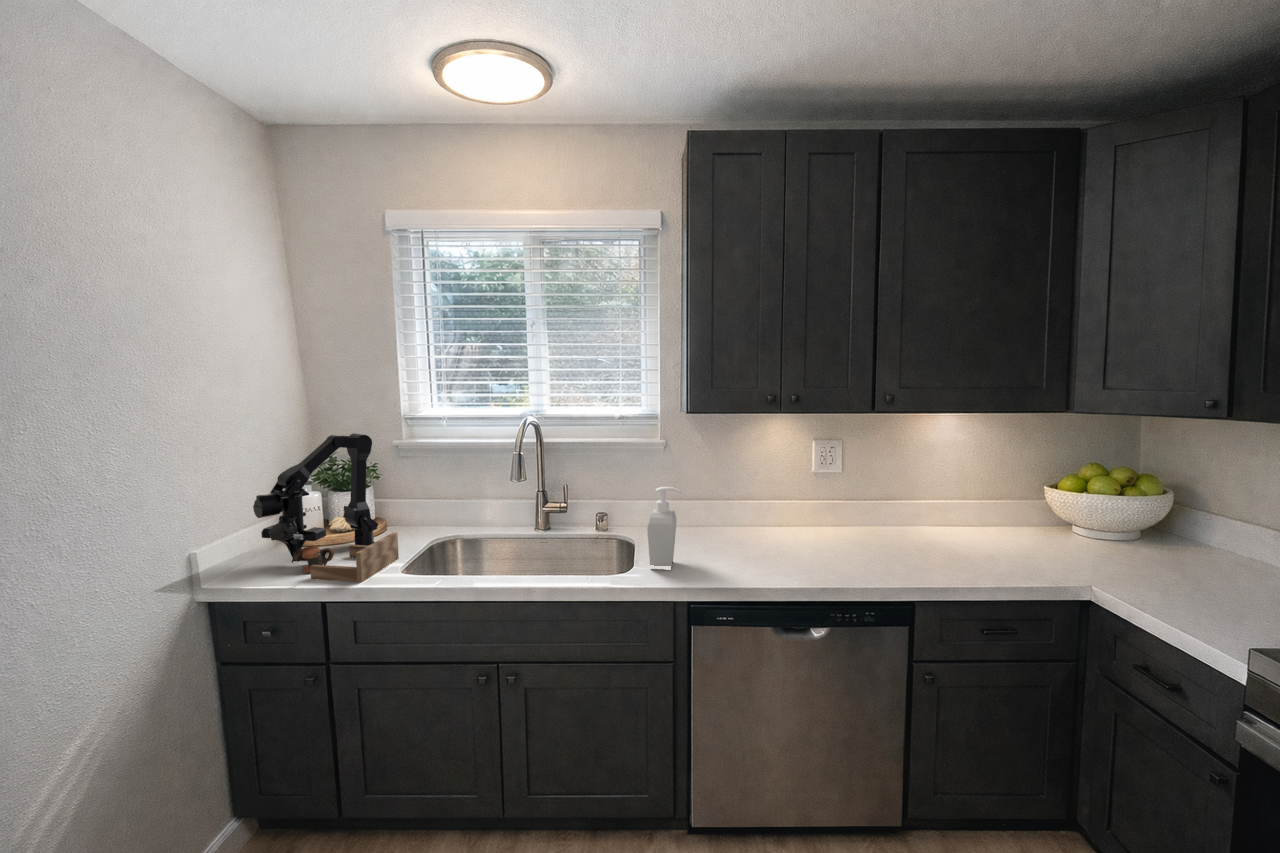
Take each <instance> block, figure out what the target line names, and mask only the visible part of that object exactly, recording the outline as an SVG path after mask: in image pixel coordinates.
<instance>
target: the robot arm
mask: <svg viewBox="0 0 1280 853" xmlns="http://www.w3.org/2000/svg"><path fill="white" fill-rule="evenodd" d="M372 446H373V439H372V438H371V437H370V435H367V434H361V433H351V434H349V435H335V434H330V435H328V436H327V438H326V439H325V440H324V441H323V442H322V443H321V444H320V445H318V446H317V447H316V448H315V449H314V450H313V451H312V452H310V454H308V455H307V456H306V457H305V458H304V459H303V460H302V461H300V462H299V463H298V464H296V465H293V466H290V467H288V468H287V469H285V470H284V471H283V472H281V473H279V475H278V476H277V481H276V483H275V485H274V486H273V488H272V489H271V491H270V493H267V494H259V495H256V496H255V497H256V498H255V500H254V503H253V506H252V507H253V512H254V515H255V517H256V518H257V519H262V518H268V517H271V516H276V515H280V514H281V515H280V516H279V518H278V523H276V524H272V525H270V526H267V527H264V528H263V529H262V530H261V538H262V539H270V540H271V541H278V542H281V543H283V544H284V545H285V546H286V548H287V549H288V552H289V554H290V555H291V558H292V559H293V557H294V556H293V553H294V552H295V551H297V550H300V549H303V548H304V547H303V546H304V545H305V543H306V541H307V542H317V541H318V540H320V539H322V538H324V537H327V531H326V529H325V528H324V527H318V526H317V527H310V528H309V529H307V527H308V526H307V524H304V517H306V516H307V513H306V511H305V512H304V508H303V507H304V504H303V497H306V496H309V495H310V493H309V492H308V491H306V490H305V489H304V486H306V484H307V483H308V482H309V480H310V477H311V475H312V473H314V472H315V470H316V469H318V468H319V467H320V466H322V464H323V463H324V462H325V461H326V460H327V459H329V458H330V457H331V456H332V455H333V454H334V453H335V452H337V450H338V449H340V448H345V449H346V451H347V453H348V456H349V459H350V501H349V503H348V505H344V506H343V516H342V517H343V518H344V521H345V523H347V524H348V525H349V527H350V529H353V530H354V545H367V546H369V545H371V544H373V543H375V542H376V541H375V540H374V531H376V530H377V529H378V527H379V523H378V522H377V521H376V520H374V518H373V519H372V515H371V510H370V507H369V505H368V503H367V461H368V458H369V456H370V454H371V452H372ZM306 529H307V530H306Z"/></svg>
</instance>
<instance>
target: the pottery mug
mask: <svg viewBox="0 0 1280 853" xmlns="http://www.w3.org/2000/svg"><path fill="white" fill-rule="evenodd" d="M327 554H328V556H327V557H326V555H327ZM334 555H335V552H334V549H333V548H330V547H325V548H322V549H320V548H319V545H310V546H309V545H308V546H306V547H302V549H300V550H297V551H295V552H294V553H293V556H294V557H293V558H292V560H291V564H292V563H294V562H296V563H297V562H307V565H305V566H302V567H301V569H302V571H303V574H305V575H306V574H309V573H310V566H312V565H327V564H328V562H331V561H332V560H333V558H334ZM310 574H311V573H310Z"/></svg>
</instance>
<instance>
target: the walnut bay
mask: <svg viewBox="0 0 1280 853" xmlns="http://www.w3.org/2000/svg"><path fill="white" fill-rule="evenodd" d="M398 536H399V535H398V532H394V531H392V532H391V533H389V534H388V535H386V536H384V537H381V538H380V539H378V540H376V541H374V542H375V543H373V544H371V545H369V546H367V545H355V544H351V545H349V546H348V547H349V548H348V552H349V558H350V557H351V558H350V559H355V562H356V564H355V565H356V566H345V565H342V566H341V565H329V564H328V565H327V564H326V565H324V564H323V565H312V566H310V580H316V579H319V580H318V581H320V580H321V581H334V582H335V581H337V582H350V583H351V582H352V583H353V582H354V583H363V582H365V581H366V580H368V579H369V578H371V577H373V576H374V575H376V574H377V573H379V572H380V571H382V570H384V569H386V568H387V567H388V566H390V565H392V564H393V563H394V561H395V560H396V561H398V560H399V557H400V556H399V539H398V538H399V537H398ZM352 557H353V558H352ZM397 559H398V560H397ZM396 561H395V562H396ZM392 562H393V563H392ZM389 564H390V565H389ZM386 566H387V567H386ZM383 568H384V569H383Z"/></svg>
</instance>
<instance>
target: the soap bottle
mask: <svg viewBox="0 0 1280 853" xmlns="http://www.w3.org/2000/svg"><path fill="white" fill-rule="evenodd" d="M667 491H673V492H674V491H675V492H677V493H680V494H681V493H682V490H681V489H678V488H676V487H673V486H660V487H657V488H656V489H655V493H658V492H659V499H658V500H656V502H655V505H656V506H655V508H653V509H652V512H651V514H650V517H649V521H648V524H647V528H646V529H647V541H648V555H649V556H648V557H649V566H650V565H654V566H672V567H673V565H672V562H673V563H674V555H675V542H676V534H677V533H676V531H677V523H678V522H677V515H676V512H675V510H674V509H670V501H669V500H667Z"/></svg>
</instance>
